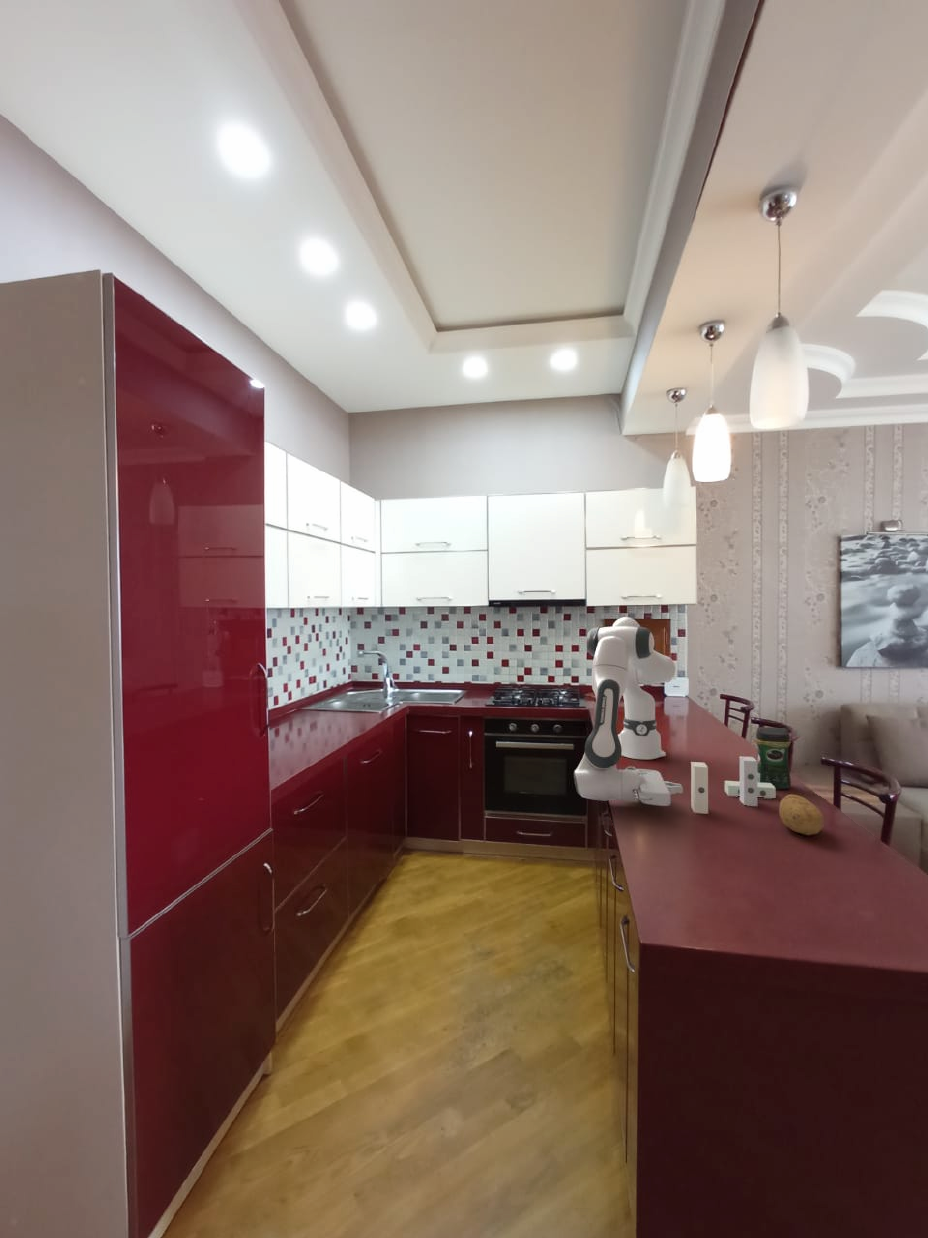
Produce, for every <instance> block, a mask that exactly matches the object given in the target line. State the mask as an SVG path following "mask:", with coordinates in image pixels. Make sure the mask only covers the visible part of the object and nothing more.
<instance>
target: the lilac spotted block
mask: <svg viewBox="0 0 928 1238" xmlns="http://www.w3.org/2000/svg"><path fill="white" fill-rule="evenodd" d="M757 761H758V759H757V760H756V758H755V757H753V756H739V781H740V797H739V801H740V802H741V804H742V803H743V804H744V805H747V806H748V807H758V798H757ZM743 804H742V805H743ZM744 805H743V806H744ZM747 806H746V807H747Z"/></svg>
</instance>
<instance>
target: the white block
mask: <svg viewBox="0 0 928 1238" xmlns="http://www.w3.org/2000/svg"><path fill="white" fill-rule="evenodd" d="M776 791H777V789H776V788H775V787H774V786H773V785H772V784H771V783H759V782H757V797H764V798H763V799H772V798H776V797H777V794H776ZM724 792H725V793H726V795H727V796H728V797H738V796H740V780H738V781H736V780H735V781H734V780H724Z"/></svg>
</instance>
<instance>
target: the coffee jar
mask: <svg viewBox="0 0 928 1238" xmlns="http://www.w3.org/2000/svg"><path fill="white" fill-rule="evenodd" d="M755 732H756V733H755V743H756V746H757V782H759V783H771V784H772V785H773V786H774V787H775V788H776V790H788V789H791V787H792V782H791V781H792V779H791V772H790V767H789V765H790V764H789V752H788V751H789V747H790V746H791V739H790V734H789V731H788V729H786V728H785V727H784V728H783V727H782V728H781V727H770V726H769V727H768V726H767V727H765V726H758V727H757V728H756V731H755Z"/></svg>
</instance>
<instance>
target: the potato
mask: <svg viewBox="0 0 928 1238" xmlns="http://www.w3.org/2000/svg"><path fill="white" fill-rule="evenodd" d="M778 809H779V810H778V811H779V817H780V819H781V821H782V823H783V825H785V826H786V827H787V828H789V829H790V830H791V831H793V832H795V833H799V834H801V835H805V836H808V837H809V836H812V835H817V834H818V833H820V832H821V830H823V828H824V823H825V819H824V816H823V814H822V811H820V809H819V808H818V807H817V806H816V805H815V804H813V803H812V802H811V801H810V800H808V799H807V798H805V797H804V796H801V795H797V794H787V795H785V796H784V797H783V798H781V800H780V803H779V808H778Z"/></svg>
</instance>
